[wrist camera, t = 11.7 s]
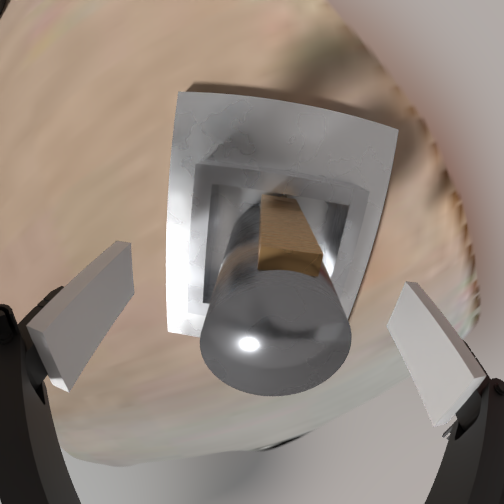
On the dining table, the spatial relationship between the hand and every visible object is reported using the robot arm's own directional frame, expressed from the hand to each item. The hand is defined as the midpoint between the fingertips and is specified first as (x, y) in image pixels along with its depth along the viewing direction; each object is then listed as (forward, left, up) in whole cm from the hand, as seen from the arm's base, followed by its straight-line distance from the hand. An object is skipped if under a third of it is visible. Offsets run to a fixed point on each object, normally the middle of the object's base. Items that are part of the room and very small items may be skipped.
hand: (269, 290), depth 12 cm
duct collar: (0, 0, -7) cm, 7 cm away
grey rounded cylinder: (0, 0, -6) cm, 6 cm away
